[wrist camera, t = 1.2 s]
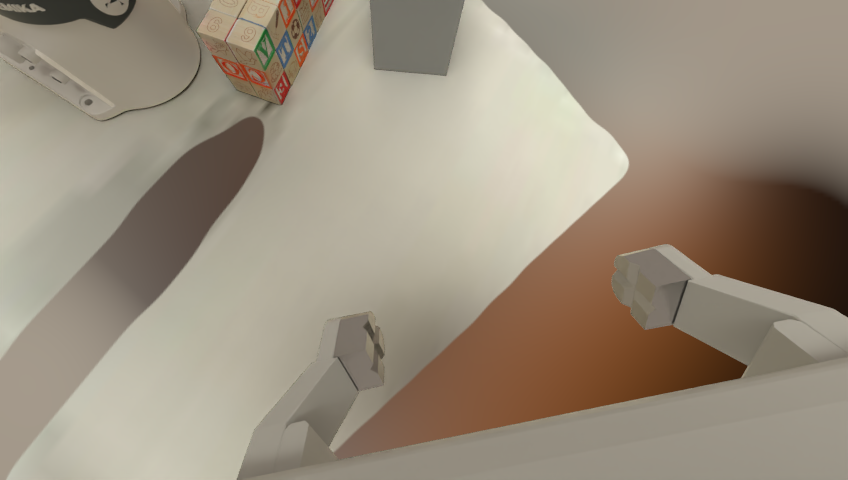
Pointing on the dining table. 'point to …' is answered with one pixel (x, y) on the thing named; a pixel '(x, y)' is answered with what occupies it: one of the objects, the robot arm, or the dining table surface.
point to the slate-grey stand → (414, 34)
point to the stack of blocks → (262, 41)
